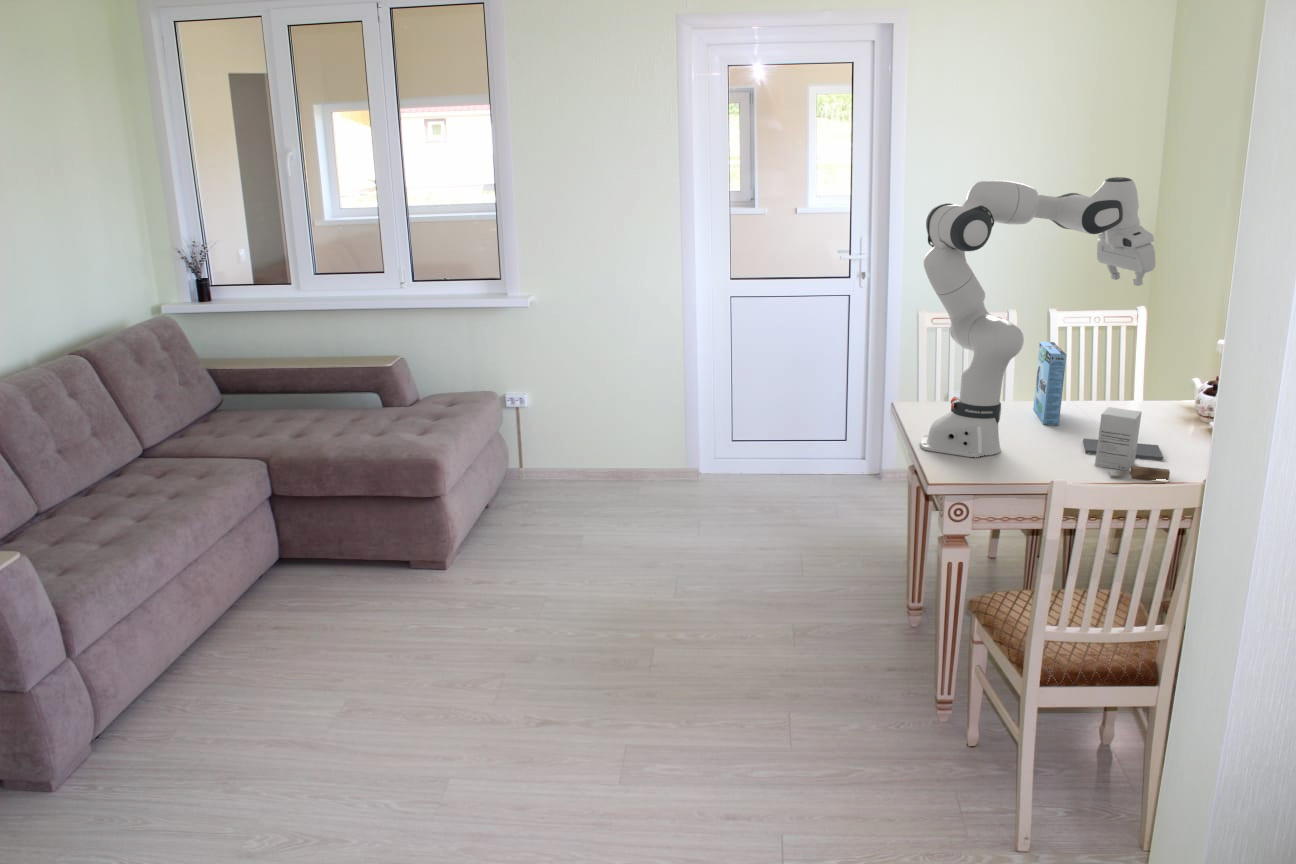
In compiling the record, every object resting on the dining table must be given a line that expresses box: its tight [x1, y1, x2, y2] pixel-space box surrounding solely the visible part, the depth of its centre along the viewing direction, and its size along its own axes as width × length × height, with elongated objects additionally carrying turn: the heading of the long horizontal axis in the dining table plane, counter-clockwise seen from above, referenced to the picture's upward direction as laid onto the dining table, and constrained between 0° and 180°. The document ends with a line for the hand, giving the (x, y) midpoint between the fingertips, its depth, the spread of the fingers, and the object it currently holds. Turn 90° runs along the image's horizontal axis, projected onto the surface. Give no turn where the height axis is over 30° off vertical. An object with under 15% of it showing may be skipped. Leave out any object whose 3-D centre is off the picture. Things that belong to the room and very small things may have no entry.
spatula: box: [1108, 465, 1171, 481], centre depth 263 cm, size 14×5×3 cm, turn 70°
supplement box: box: [1094, 406, 1143, 471], centre depth 272 cm, size 9×9×15 cm
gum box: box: [1032, 341, 1067, 426], centre depth 317 cm, size 20×5×23 cm, turn 168°
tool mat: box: [1082, 438, 1164, 461], centre depth 286 cm, size 20×12×1 cm, turn 70°
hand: (1126, 282), depth 281 cm, fingers open, 8 cm apart
